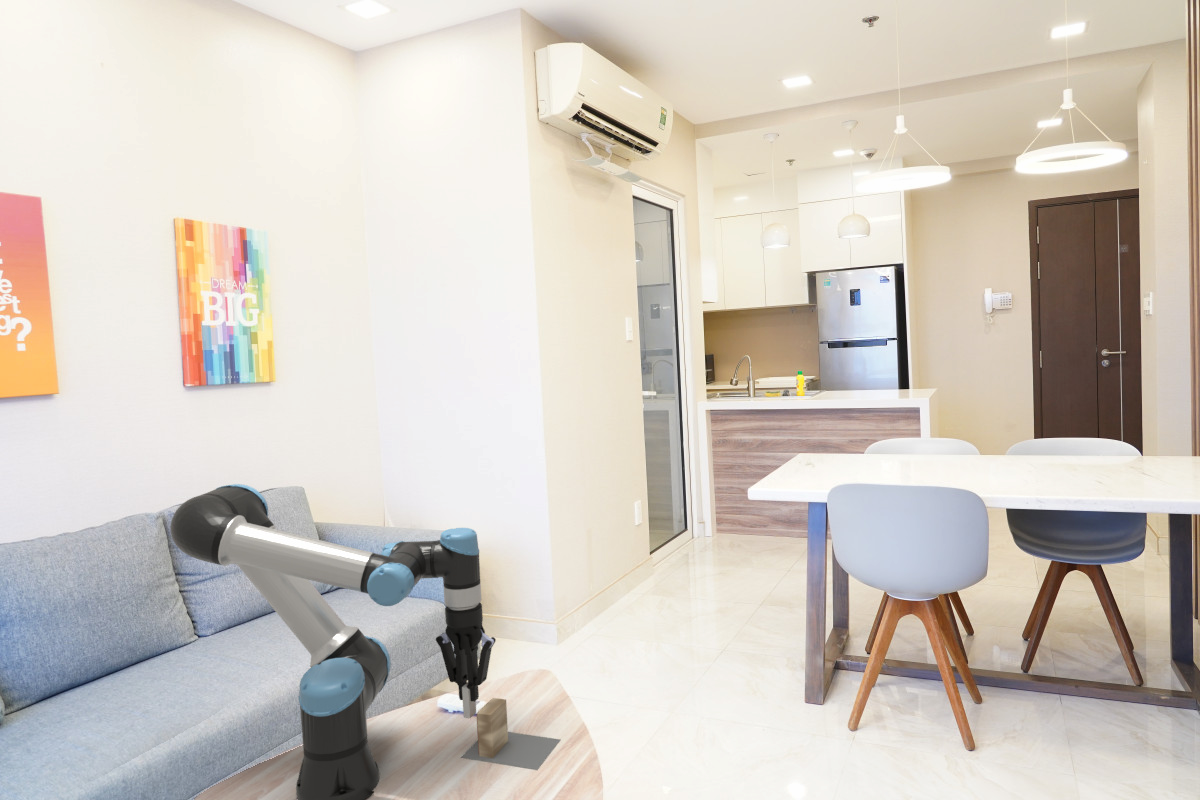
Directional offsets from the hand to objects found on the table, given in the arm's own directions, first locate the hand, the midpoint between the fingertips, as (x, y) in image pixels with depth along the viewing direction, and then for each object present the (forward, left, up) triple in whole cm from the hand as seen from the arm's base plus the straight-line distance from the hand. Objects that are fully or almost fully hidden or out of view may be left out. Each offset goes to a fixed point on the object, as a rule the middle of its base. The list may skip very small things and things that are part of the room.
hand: (470, 714), depth 161 cm
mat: (+9, +1, -7) cm, 11 cm away
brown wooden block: (+5, 0, -6) cm, 8 cm away
